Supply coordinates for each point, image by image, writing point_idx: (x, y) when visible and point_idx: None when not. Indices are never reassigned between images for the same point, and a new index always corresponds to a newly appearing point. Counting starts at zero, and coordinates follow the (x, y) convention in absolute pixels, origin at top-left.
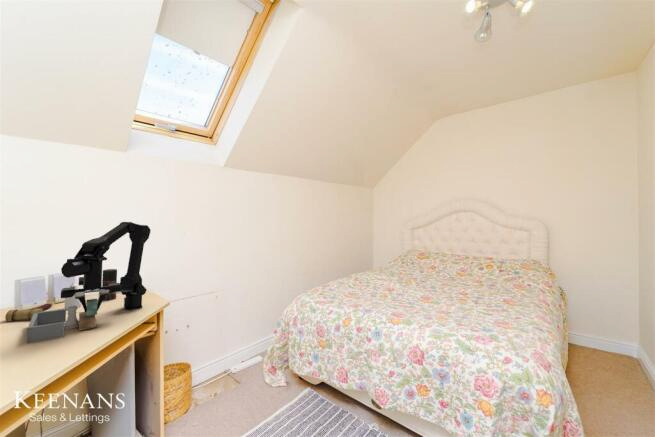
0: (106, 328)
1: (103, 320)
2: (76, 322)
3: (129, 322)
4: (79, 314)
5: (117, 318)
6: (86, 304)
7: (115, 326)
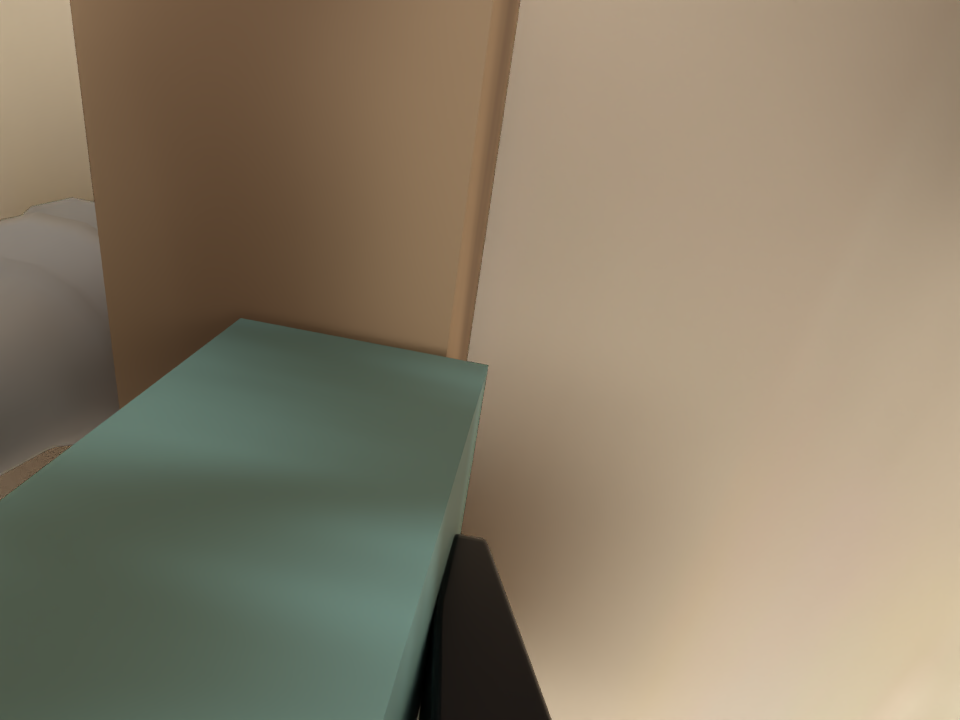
0: None
1: (638, 307)
2: None
3: (891, 703)
4: (93, 151)
5: (893, 372)
6: (16, 531)
7: (662, 715)
